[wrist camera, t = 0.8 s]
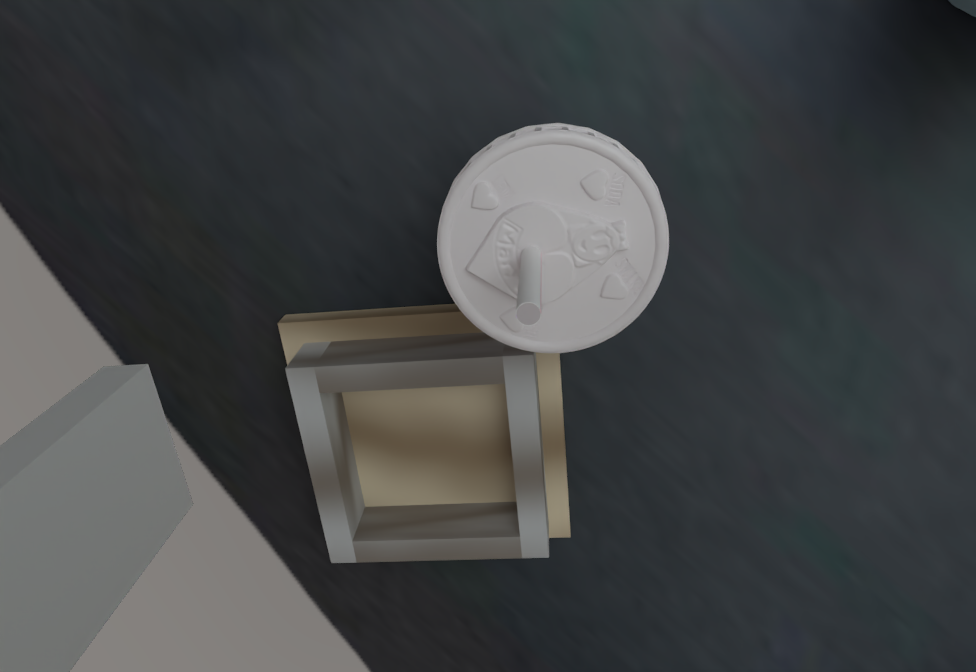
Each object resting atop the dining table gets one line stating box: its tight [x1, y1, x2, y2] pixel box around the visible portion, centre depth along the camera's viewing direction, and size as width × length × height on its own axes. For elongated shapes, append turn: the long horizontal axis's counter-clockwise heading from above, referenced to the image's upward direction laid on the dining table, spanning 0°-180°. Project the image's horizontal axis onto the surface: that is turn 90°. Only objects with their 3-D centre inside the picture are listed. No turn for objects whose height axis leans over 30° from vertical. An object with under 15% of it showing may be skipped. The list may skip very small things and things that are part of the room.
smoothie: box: [437, 123, 669, 353], centre depth 21 cm, size 6×6×14 cm
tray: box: [278, 304, 571, 563], centre depth 31 cm, size 12×12×4 cm
